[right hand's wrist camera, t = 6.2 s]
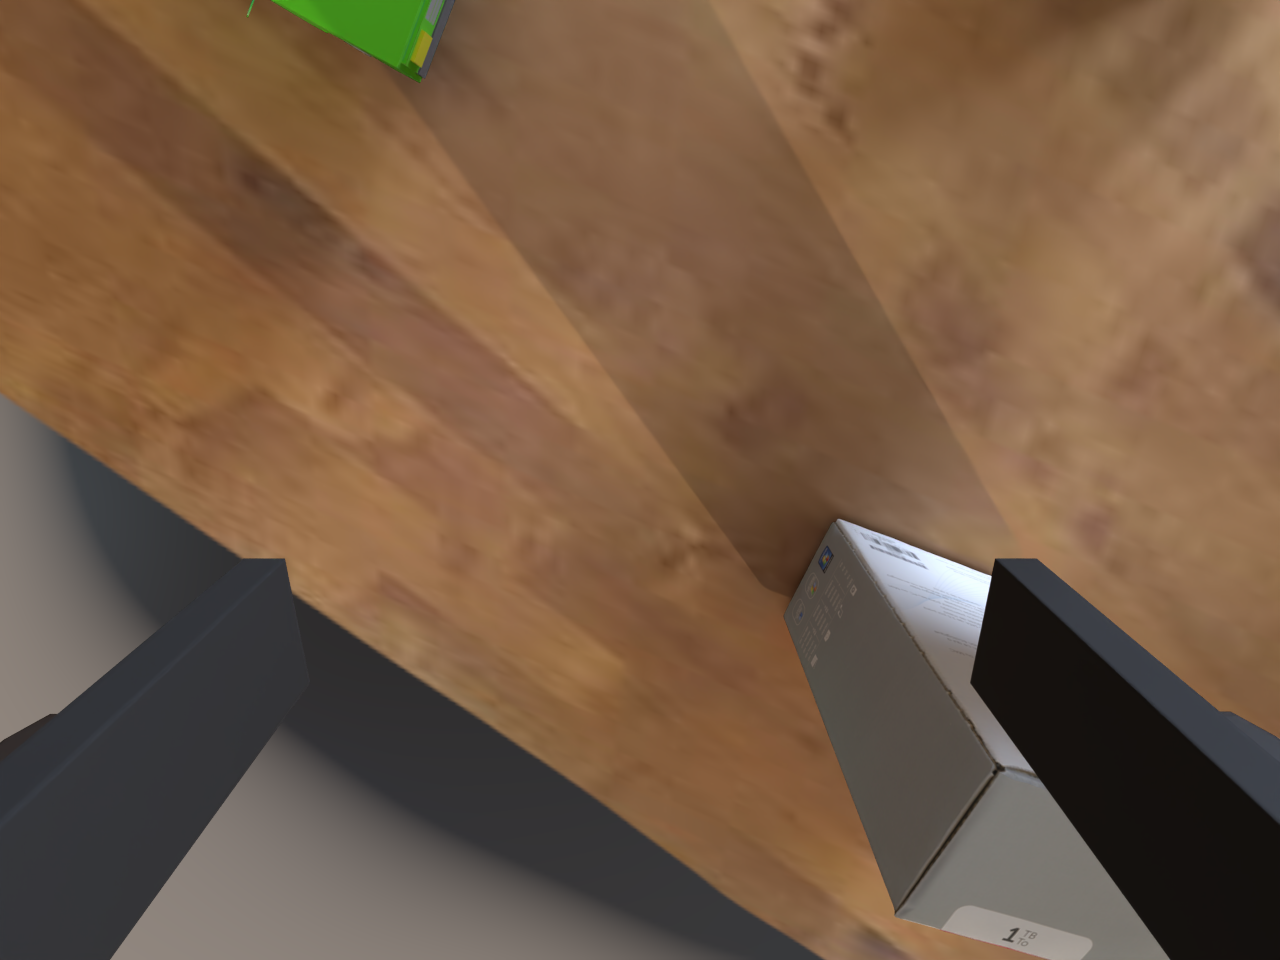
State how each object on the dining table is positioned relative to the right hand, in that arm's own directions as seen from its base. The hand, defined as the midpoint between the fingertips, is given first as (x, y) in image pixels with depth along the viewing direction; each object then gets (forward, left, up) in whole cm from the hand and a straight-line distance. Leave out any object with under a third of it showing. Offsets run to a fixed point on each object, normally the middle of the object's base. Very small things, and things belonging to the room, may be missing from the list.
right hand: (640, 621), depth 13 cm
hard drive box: (-7, +22, -26) cm, 35 cm away
